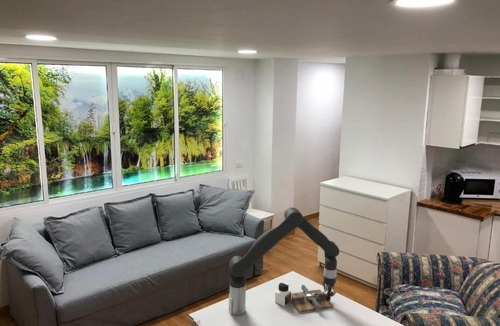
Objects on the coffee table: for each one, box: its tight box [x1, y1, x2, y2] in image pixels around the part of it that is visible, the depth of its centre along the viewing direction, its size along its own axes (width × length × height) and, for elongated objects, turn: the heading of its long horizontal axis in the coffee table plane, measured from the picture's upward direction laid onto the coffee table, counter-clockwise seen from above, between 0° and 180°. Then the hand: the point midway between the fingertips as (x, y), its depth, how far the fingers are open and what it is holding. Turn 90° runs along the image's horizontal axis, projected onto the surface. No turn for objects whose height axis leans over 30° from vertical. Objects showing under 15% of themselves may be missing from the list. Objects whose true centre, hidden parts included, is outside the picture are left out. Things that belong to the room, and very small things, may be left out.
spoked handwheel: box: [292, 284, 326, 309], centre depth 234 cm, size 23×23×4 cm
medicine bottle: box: [274, 281, 292, 307], centre depth 233 cm, size 7×7×12 cm
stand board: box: [290, 289, 334, 314], centre depth 234 cm, size 22×18×2 cm
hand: (328, 300), depth 232 cm, fingers closed
